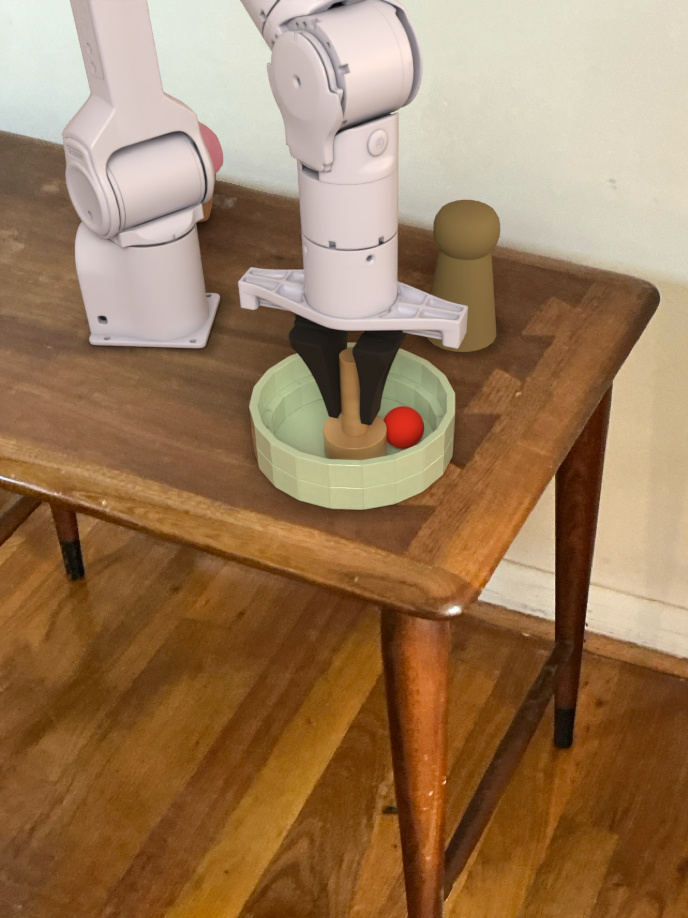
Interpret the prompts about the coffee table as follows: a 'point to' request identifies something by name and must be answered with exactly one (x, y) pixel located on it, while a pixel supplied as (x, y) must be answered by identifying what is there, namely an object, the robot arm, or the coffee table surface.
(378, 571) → the coffee table surface
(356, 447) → the wooden peg on base
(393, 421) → the red ball
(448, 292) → the cork
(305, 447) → the bowl
